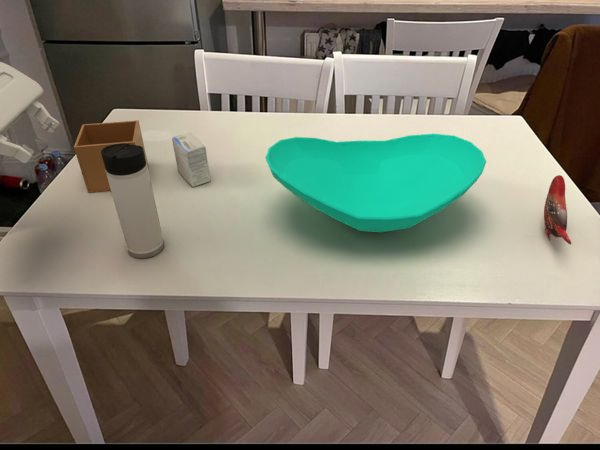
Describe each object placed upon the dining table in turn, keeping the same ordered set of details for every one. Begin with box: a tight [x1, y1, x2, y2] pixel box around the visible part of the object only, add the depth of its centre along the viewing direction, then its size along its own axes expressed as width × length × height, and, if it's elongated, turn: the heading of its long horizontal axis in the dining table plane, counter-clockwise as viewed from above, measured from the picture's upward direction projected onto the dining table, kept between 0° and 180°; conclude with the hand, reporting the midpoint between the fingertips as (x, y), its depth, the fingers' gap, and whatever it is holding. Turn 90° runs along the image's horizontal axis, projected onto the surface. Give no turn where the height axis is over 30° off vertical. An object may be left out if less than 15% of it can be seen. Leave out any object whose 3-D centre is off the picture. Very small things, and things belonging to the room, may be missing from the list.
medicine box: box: [171, 132, 211, 188], centre depth 99 cm, size 8×4×9 cm, turn 34°
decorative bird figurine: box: [543, 174, 572, 245], centre depth 82 cm, size 3×18×10 cm, turn 166°
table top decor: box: [265, 133, 487, 233], centre depth 87 cm, size 40×28×13 cm
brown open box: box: [73, 119, 149, 194], centre depth 98 cm, size 12×10×11 cm
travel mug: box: [101, 143, 165, 259], centre depth 76 cm, size 6×7×20 cm
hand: (44, 142), depth 69 cm, fingers open, 8 cm apart
